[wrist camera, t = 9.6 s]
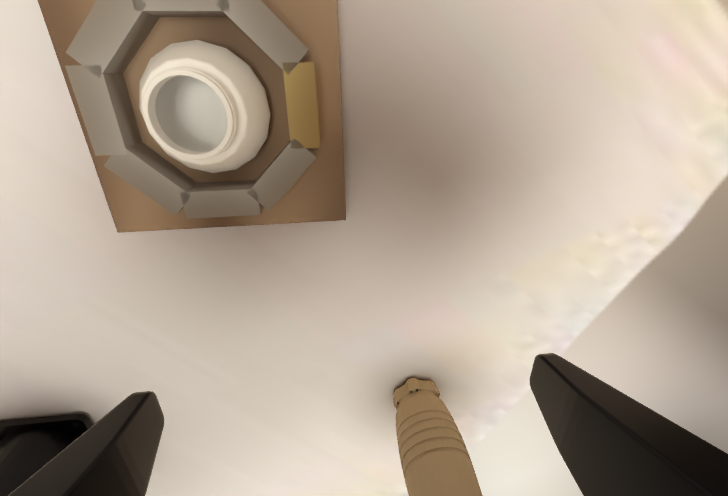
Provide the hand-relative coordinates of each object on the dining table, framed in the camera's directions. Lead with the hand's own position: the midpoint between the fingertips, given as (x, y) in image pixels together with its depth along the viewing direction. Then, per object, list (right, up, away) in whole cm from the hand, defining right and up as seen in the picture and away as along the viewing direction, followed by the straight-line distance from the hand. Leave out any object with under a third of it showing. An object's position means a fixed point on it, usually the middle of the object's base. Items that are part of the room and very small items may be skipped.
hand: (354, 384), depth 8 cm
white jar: (-6, +9, +7) cm, 13 cm away
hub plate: (-6, +10, +8) cm, 14 cm away
